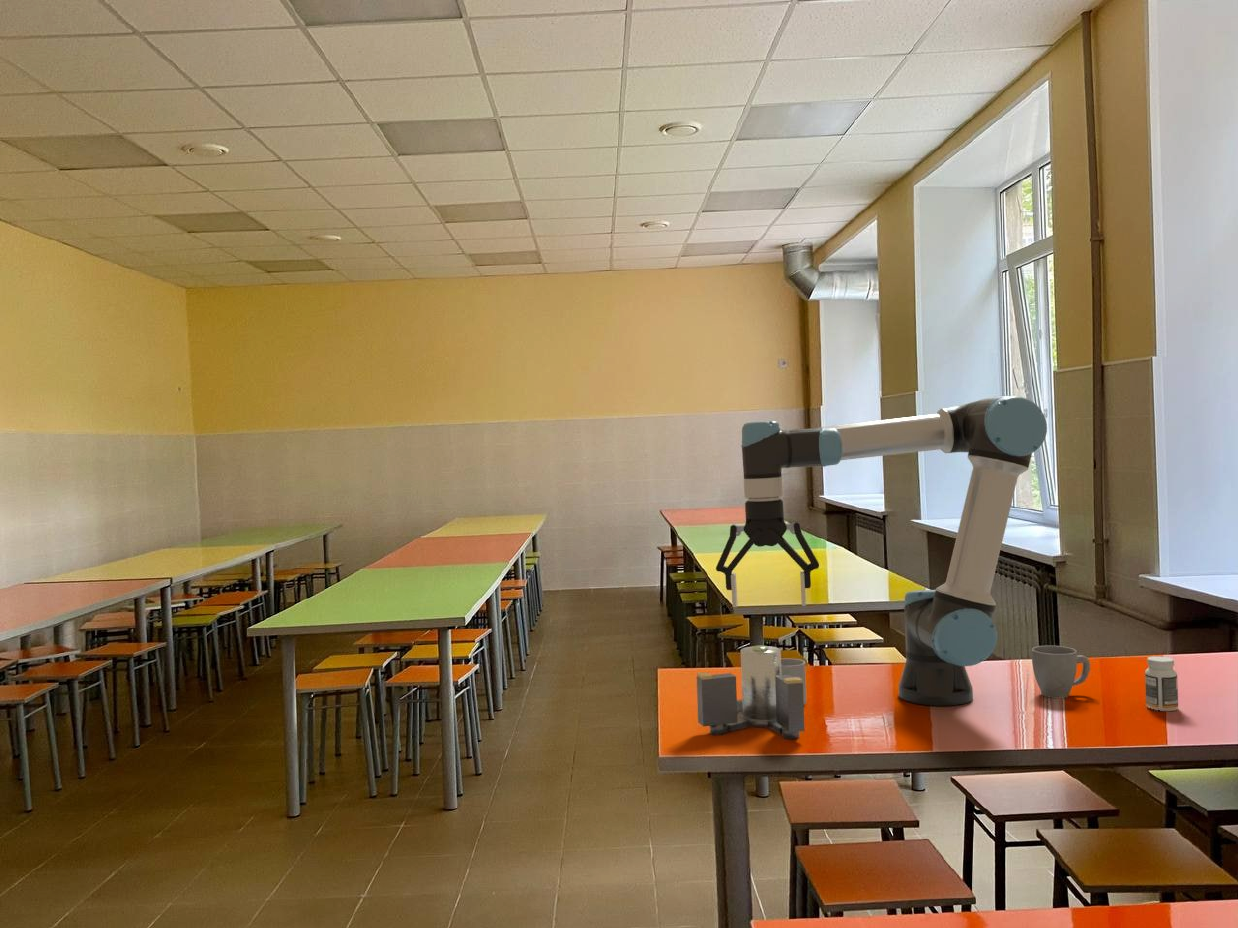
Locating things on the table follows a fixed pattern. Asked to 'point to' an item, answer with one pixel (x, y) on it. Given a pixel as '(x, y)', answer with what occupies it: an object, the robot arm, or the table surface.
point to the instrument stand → (758, 689)
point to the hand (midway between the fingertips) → (769, 605)
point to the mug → (1058, 669)
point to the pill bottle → (1161, 684)
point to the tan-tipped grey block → (716, 701)
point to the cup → (795, 671)
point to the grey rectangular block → (789, 705)
